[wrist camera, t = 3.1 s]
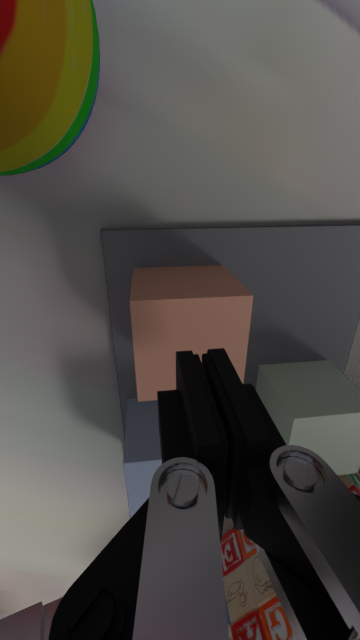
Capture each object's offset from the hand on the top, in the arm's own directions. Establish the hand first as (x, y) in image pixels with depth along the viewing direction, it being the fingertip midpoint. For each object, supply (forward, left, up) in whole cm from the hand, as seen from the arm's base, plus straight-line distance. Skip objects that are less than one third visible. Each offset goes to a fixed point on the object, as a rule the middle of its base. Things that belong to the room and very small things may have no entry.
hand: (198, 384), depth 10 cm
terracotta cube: (0, 0, -8) cm, 8 cm away
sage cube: (-8, +7, -8) cm, 13 cm away
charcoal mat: (-4, +4, -8) cm, 10 cm away
